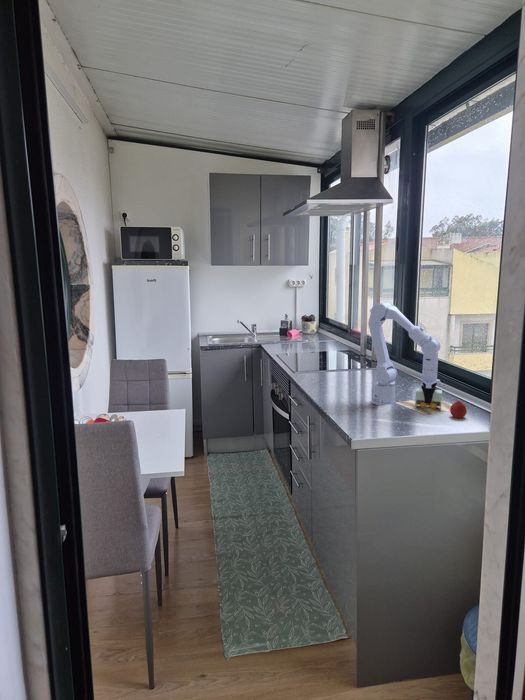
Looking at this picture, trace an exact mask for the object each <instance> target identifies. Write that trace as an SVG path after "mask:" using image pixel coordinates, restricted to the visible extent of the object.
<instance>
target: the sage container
mask: <svg viewBox="0 0 525 700" xmlns="http://www.w3.org/2000/svg"><path fill="white" fill-rule="evenodd" d="M442 397H443V390H441V389H436V390H435V391H434V394H433V397H432V401H431V402H433V401H434V402H436V403H437V406H438V407H440V410H441V404H442V401H443V398H442ZM414 400H415V408H416V406H417V405H420V402H421V401H425V398H424V393H423V390H422V388H421V387H420V388H419V387H417V388H416V390H415V399H414ZM427 406H430V404H429V403H427Z"/></svg>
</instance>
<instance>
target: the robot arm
mask: <svg viewBox="0 0 525 700" xmlns="http://www.w3.org/2000/svg"><path fill="white" fill-rule="evenodd" d="M369 311H370V314H369V319H368V323H367V325H368V328H369V332H370V336H371V337H370V338H371V340H372V345H373V346H372V347H373V349H374V350H373V351H374V353H375V358H376V359H375V360H376V362H377V364H376V366H375V370H376V372H375V380H376V382H377V384H374V385H372V387H371V401H370V404H374V405H375V406H381V405H386V404H387V405H389V404H394V403H396V402H395V401H396V400H395V399H396V397H395V393H396V381H395V380H396V379H397V378H398V375H399V374H398V370H397V368H395V366H394V363H393V362H392V361H391V359H390V355H389V350H388V347H387V342H386V338H385V333H384V330H383V324H384V323H385V321H386V320H393V321H395V323H397V324H398V325H400V326H401V327H402V328H403V329H405V331H407V332H408V337H409V338H410V339H411V340H412V341H413V342H415V343H416V344H417V345H418V346H419V347H420V349H421V352H422V353H423V354H422V355H423V357H422V370H421V371H422V372H421V373H422V375H421V376H422V377H421V382H422V385H421V387H420V389H422V390H423V393H424V398H425V403H429V404H431V401H432V397H433V394H434V391H435V390H437V383H440V382H441V380H440V379H438V368H439V367H438V365H439V351H440V350H441V342H440V341H439V340H438V339H437V338H434V337H433V336H432V335H430V334H428V333H427V332H426V331H425V328H424V327H423V326H419V325H414V324H413V323H412V322H411V321H410V320H409V319H408V318H407V317H406V316H405V315H404V314H403V313H402V312H401V311H400V310H399V308H398V307H397V306H396V305H394V304H393V303H392V302H390V301H384V302H381V303H380V302H377V303H375V304H374V305H373V306H372V307H371V308H370V310H369Z"/></svg>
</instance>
